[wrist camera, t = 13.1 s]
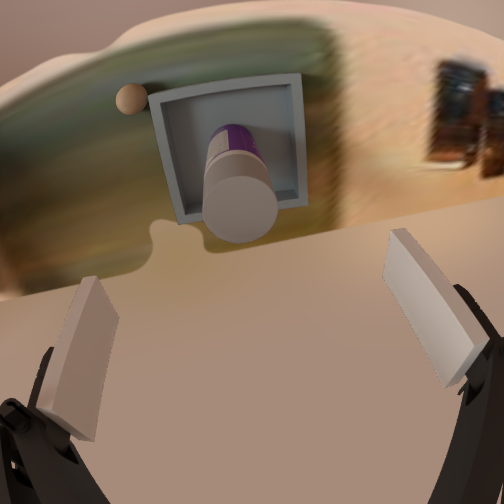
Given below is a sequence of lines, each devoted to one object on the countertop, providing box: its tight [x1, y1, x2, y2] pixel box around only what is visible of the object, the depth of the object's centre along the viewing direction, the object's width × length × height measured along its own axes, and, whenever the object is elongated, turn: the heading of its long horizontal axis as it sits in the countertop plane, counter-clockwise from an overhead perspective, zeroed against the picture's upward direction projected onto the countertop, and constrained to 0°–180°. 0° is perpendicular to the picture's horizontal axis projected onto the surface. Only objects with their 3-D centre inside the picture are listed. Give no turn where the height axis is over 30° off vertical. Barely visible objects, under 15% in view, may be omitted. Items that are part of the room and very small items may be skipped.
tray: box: [148, 72, 308, 225], centre depth 29 cm, size 14×14×3 cm
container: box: [202, 124, 278, 243], centre depth 24 cm, size 5×5×15 cm
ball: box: [116, 84, 148, 115], centre depth 25 cm, size 3×3×3 cm
